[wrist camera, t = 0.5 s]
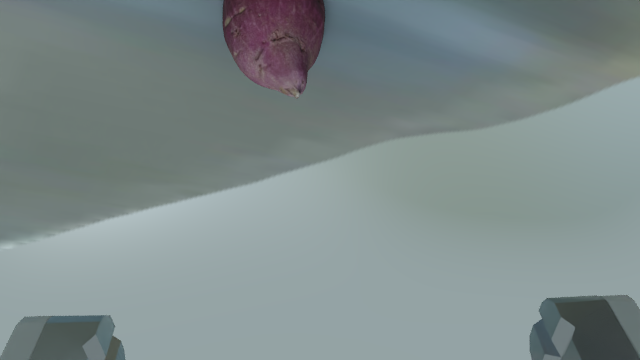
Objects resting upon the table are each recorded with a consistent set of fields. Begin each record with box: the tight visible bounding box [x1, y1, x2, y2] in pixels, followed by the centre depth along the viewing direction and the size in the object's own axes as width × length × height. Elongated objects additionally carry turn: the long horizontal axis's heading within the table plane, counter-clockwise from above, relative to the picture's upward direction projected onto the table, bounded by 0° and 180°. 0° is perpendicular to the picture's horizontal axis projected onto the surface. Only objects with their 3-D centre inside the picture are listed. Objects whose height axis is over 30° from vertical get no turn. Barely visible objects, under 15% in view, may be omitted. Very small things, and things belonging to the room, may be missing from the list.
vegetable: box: [223, 0, 325, 98], centre depth 49 cm, size 10×10×15 cm
